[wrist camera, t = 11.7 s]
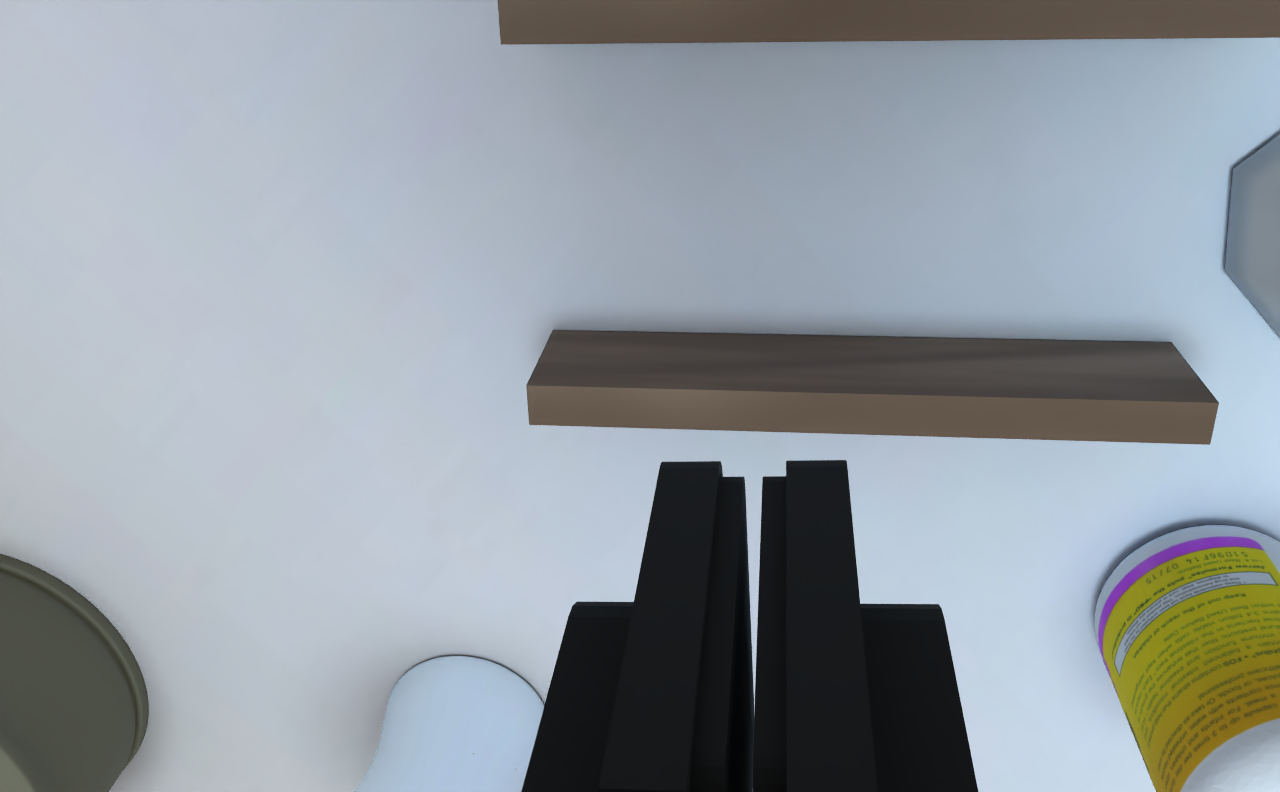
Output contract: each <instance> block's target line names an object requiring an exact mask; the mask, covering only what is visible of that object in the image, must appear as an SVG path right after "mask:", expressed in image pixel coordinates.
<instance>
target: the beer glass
mask: <svg viewBox="0 0 1280 792" xmlns="http://www.w3.org/2000/svg"><path fill="white" fill-rule="evenodd" d="M543 710H544V704H543V702H542V701H541V699H540V697H539V696H538V695H537V693H536V692H535V691H534V690H533V688H532V687H531V686H530V685H529V684H528V683H526V682H525V681H524V680H523V679H522V678H521V677H519V676H518V675H516V674H515V673H513V672H512V671H510V670H508V669H507V668H505V667H503V666H500V665H498V664H496V663H493V662H490V661H487V660H484V659H479V658H474V657H467V656H445V657H439V658H434V659H431V660H428V661H425V662H422V663H420V664H418V665H416V666H415V667H413V668H412V669H410V670H409V671H408V672H406V673H405V674H404V675H403V676H402V677H401V678H400V680H399V681H398V682H397V683H396V685H395V686H394V688H393V690H392V692H391V694H390V696H389V699H388V702H387V706H386V710H385V714H384V719H383V724H382V730H381V735H380V740H379V744H378V748H377V751H376V754H375V756H374V759H373V761H372V763H371V765H370V767H369V769H368V771H367V773H366V775H365V776H364V778H363V780H362V781H361V782H360V784H359V785H358V787H357V788H356V790H355V791H354V792H521V791H522V787H523V784H524V780H525V776H526V772H527V769H528V765H529V761H530V758H531V754H532V750H533V747H534V743H535V739H536V735H537V732H538V728H539V724H540V721H541V717H542V713H543Z"/></svg>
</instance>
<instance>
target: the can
mask: <svg viewBox="0 0 1280 792" xmlns="http://www.w3.org/2000/svg"><path fill="white" fill-rule="evenodd" d="M147 723H148V697H147V690H146V686H145V682H144V679H143V676H142V673H141V670H140V668H139V665H138V663H137V661H136V659H135V657H134V655H133V653H132V652H131V650H130V648H129V647H128V645H127V643H126V642H125V640H124V639H123V638H122V636H121V635H120V633H119V632H118V631H117V629H116V628H115V627H114V626H113V625H112V624H111V622H110V621H109V620H108V619H107V618H106V617H105V616H104V615H103V614H102V613H101V612H100V611H99V610H98V609H97V608H96V607H95V606H94V605H93V604H92V603H91V602H89V601H88V600H87V599H86V598H85V597H83V596H82V595H81V594H80V593H78V592H77V591H76V590H74V589H73V588H72V587H70V586H68V585H67V584H65V583H64V582H62V581H61V580H59V579H58V578H56V577H54V576H52V575H50V574H49V573H47V572H45V571H43V570H41V569H39V568H37V567H35V566H32V565H30V564H28V563H25V562H23V561H20V560H18V559H15V558H12V557H9V556H5V555H2V554H0V792H109V790H110V789H111V787H112V786H113V784H114V783H115V781H116V780H117V778H118V777H119V775H120V774H121V772H122V771H123V770H124V769H125V767H126V766H127V765H128V764H129V762H130V761H131V760H132V759H133V757H134V756H135V754H136V752H137V751H138V749H139V747H140V745H141V743H142V740H143V738H144V736H145V732H146V728H147Z"/></svg>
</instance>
